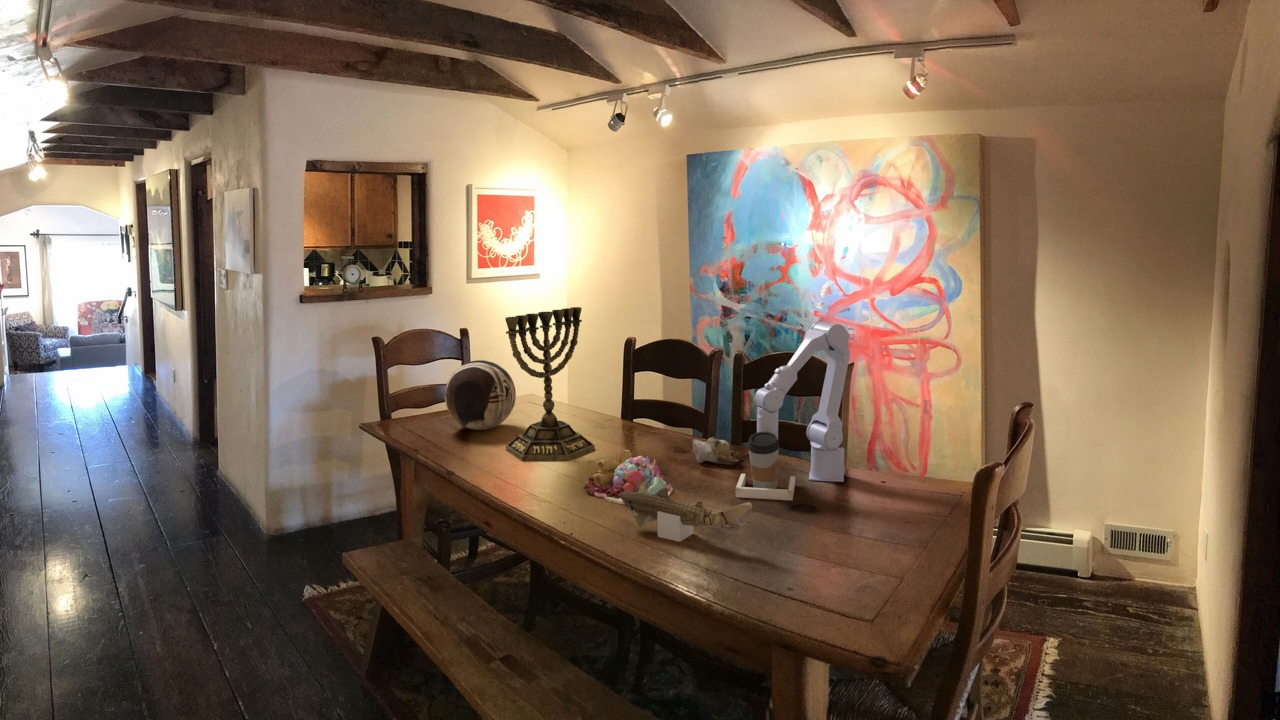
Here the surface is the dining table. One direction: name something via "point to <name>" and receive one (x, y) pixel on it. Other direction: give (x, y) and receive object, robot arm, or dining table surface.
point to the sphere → (480, 395)
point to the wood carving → (681, 514)
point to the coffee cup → (764, 459)
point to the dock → (764, 491)
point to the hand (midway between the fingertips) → (766, 480)
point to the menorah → (547, 388)
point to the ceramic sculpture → (714, 451)
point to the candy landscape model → (625, 478)
